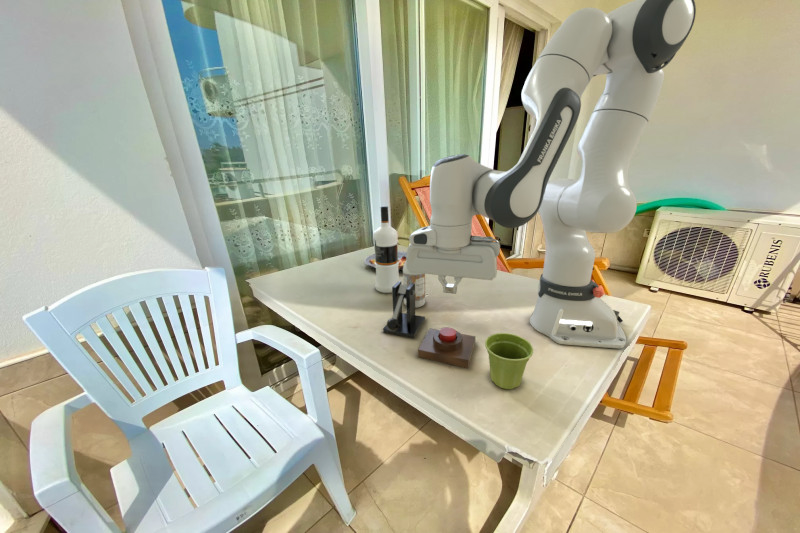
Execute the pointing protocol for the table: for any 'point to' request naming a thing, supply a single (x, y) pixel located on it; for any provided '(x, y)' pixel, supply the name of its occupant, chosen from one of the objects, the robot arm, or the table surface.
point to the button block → (447, 348)
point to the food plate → (401, 259)
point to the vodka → (386, 254)
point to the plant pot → (507, 358)
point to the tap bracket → (409, 321)
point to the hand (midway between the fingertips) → (450, 292)
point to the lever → (397, 309)
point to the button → (447, 334)
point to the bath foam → (419, 285)
